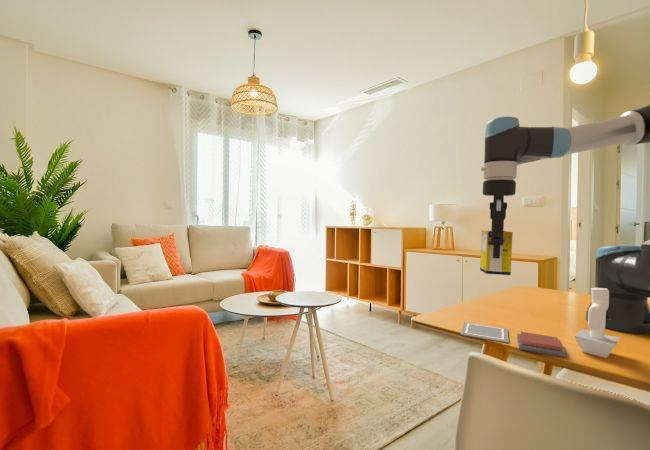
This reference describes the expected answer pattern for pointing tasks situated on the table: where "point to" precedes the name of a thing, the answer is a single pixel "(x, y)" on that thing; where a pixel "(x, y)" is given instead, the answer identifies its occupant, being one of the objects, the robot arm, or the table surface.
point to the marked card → (485, 332)
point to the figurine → (597, 326)
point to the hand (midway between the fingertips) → (495, 268)
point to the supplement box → (506, 254)
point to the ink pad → (540, 344)
